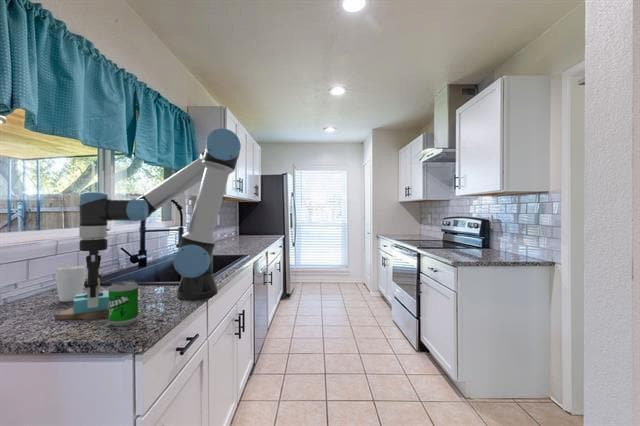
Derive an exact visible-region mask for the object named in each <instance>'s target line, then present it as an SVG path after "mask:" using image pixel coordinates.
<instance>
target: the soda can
mask: <svg viewBox="0 0 640 426" xmlns="http://www.w3.org/2000/svg"><path fill="white" fill-rule="evenodd" d="M108 290H109V303H108V316H107V317H108V321H107V322H108V324H111V325H112V326H114V327H123V326H128V325H131V324H133V323H135V321H136V320H138V317H139V284H138V283H136V282H135V280H123V281H116V282H114V283H111V285H110V286H109V287H108Z"/></svg>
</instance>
